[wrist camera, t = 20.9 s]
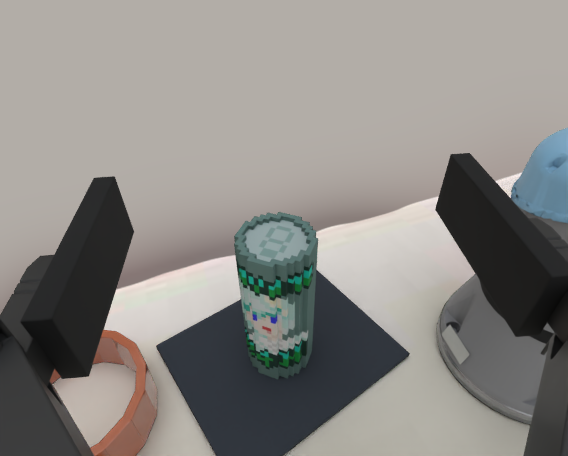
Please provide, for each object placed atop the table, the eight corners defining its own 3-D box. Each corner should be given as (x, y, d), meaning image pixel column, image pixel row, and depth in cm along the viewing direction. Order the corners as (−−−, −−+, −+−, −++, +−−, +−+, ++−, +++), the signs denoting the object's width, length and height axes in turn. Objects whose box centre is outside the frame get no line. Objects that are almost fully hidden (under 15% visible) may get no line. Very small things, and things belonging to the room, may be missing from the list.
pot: (124, 324, 43) (112, 297, 40) (187, 449, 33) (177, 425, 30) (-7, 390, 37) (-32, 364, 35) (22, 564, 28) (-10, 548, 25)
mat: (308, 265, 50) (308, 262, 49) (408, 356, 40) (409, 353, 39) (157, 348, 41) (155, 345, 40) (236, 492, 31) (235, 490, 30)
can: (239, 365, 38) (221, 253, 29) (264, 318, 43) (256, 206, 33) (298, 386, 37) (300, 274, 27) (318, 335, 41) (325, 222, 31)
